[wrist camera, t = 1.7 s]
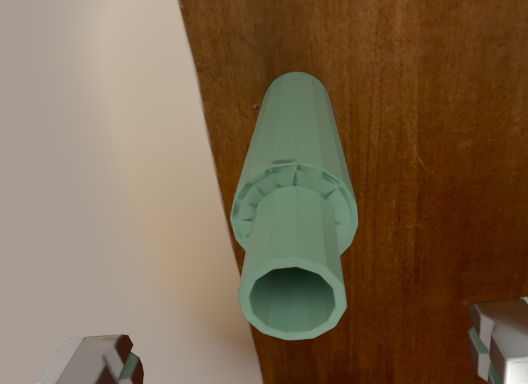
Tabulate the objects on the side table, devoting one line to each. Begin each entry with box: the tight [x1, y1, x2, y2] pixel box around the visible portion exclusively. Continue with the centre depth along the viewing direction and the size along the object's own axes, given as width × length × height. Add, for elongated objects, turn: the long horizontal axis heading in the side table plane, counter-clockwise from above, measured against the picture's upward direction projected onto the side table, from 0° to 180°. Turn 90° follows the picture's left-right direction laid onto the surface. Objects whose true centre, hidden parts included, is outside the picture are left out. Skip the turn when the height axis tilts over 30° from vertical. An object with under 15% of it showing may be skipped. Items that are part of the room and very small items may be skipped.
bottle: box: [230, 72, 358, 340], centre depth 19 cm, size 4×4×19 cm
